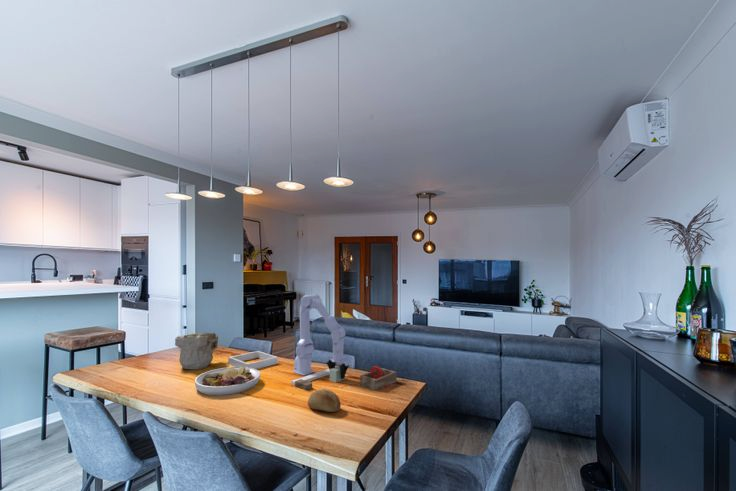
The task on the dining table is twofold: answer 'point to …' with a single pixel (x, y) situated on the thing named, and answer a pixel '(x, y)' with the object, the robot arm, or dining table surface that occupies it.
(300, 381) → the cleat
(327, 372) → the white flat plank
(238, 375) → the bowl
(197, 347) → the ceramic vessel
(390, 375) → the wooden box
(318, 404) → the bread roll
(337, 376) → the cabinet block
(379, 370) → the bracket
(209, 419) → the dining table surface
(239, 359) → the frame
